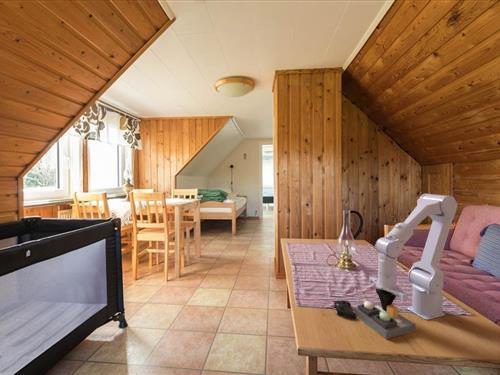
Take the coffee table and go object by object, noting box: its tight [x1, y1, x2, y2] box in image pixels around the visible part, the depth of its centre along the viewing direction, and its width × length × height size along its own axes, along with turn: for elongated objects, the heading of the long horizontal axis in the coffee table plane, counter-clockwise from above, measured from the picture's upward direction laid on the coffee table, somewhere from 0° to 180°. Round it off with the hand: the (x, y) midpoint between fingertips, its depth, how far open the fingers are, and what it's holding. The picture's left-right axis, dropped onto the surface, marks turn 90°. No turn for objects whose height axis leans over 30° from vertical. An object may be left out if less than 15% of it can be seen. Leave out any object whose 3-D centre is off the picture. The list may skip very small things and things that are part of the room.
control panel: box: [354, 301, 416, 340], centre depth 86 cm, size 12×14×4 cm
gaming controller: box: [333, 299, 357, 320], centre depth 93 cm, size 10×5×6 cm
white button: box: [363, 300, 374, 311], centre depth 88 cm, size 3×3×2 cm
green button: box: [380, 312, 390, 322], centre depth 81 cm, size 3×3×2 cm
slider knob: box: [387, 304, 399, 318], centre depth 85 cm, size 2×2×3 cm
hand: (386, 309), depth 87 cm, fingers closed
